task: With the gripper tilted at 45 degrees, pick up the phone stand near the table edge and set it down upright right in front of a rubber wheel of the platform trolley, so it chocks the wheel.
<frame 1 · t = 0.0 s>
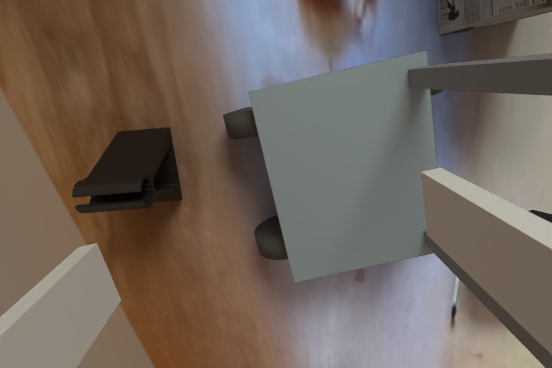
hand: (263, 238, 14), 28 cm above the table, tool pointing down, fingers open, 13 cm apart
phone stand: (152, 165, 41), on the table
trolley: (335, 157, 41), on the table
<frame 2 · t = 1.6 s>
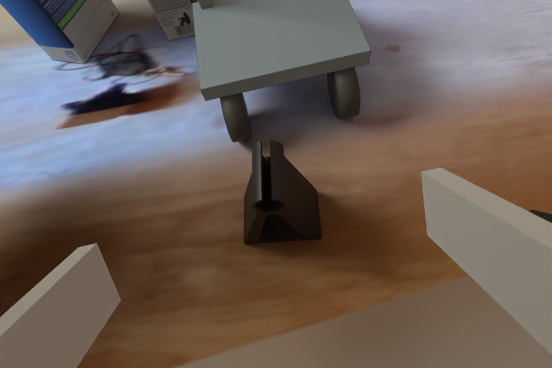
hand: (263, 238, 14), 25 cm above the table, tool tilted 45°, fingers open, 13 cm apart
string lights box: (88, 37, 61), on the table
phone stand: (281, 218, 41), on the table
coffee box: (185, 21, 60), on the table
trolley: (281, 76, 50), on the table
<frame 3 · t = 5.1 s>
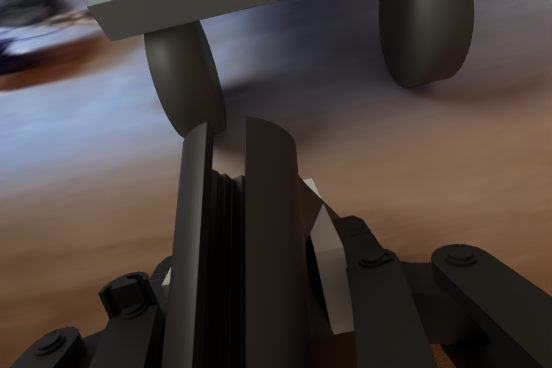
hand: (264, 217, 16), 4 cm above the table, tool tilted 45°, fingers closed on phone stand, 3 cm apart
phone stand: (288, 314, 17), on the table, touching gripper
trolley: (285, 17, 27), on the table
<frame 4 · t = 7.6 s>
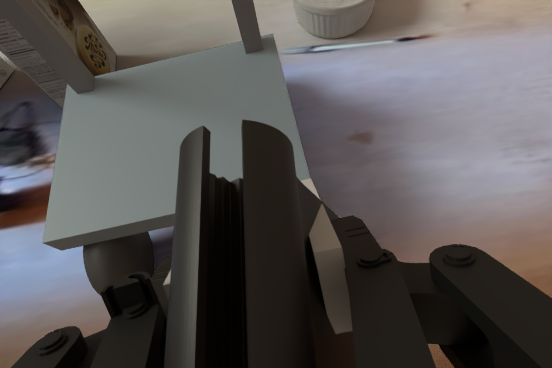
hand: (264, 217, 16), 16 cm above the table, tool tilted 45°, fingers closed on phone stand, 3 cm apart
phone stand: (289, 316, 17), point 12 cm above the table, touching gripper
coffee box: (94, 84, 45), on the table
ramekin: (333, 17, 45), on the table
trolley: (206, 176, 36), on the table
when the fingers open (5 cm above the table, at t = 10.3 s): phone stand drops 1 cm, on the table.
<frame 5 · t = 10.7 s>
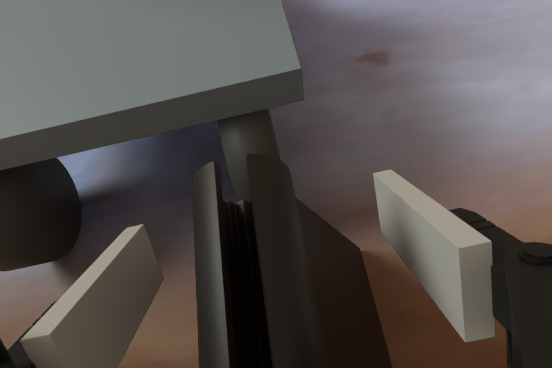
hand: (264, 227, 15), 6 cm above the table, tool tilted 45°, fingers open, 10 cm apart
phone stand: (291, 318, 19), on the table
trolley: (161, 112, 26), on the table
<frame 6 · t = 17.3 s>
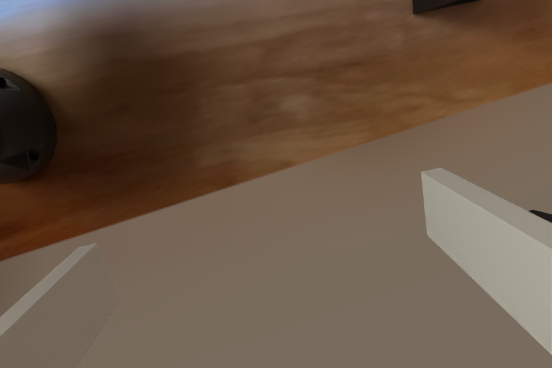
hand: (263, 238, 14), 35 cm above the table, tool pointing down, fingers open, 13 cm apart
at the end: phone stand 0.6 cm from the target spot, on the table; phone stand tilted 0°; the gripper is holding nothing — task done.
